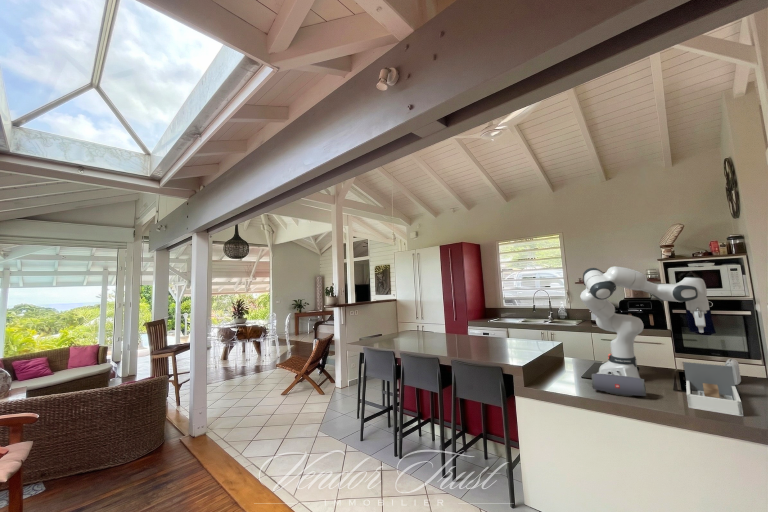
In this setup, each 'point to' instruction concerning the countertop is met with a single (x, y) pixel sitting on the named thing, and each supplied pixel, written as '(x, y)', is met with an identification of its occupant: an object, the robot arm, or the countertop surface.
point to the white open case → (710, 378)
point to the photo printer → (734, 370)
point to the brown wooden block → (711, 390)
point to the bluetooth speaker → (619, 384)
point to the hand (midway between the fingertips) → (701, 332)
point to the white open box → (715, 403)
